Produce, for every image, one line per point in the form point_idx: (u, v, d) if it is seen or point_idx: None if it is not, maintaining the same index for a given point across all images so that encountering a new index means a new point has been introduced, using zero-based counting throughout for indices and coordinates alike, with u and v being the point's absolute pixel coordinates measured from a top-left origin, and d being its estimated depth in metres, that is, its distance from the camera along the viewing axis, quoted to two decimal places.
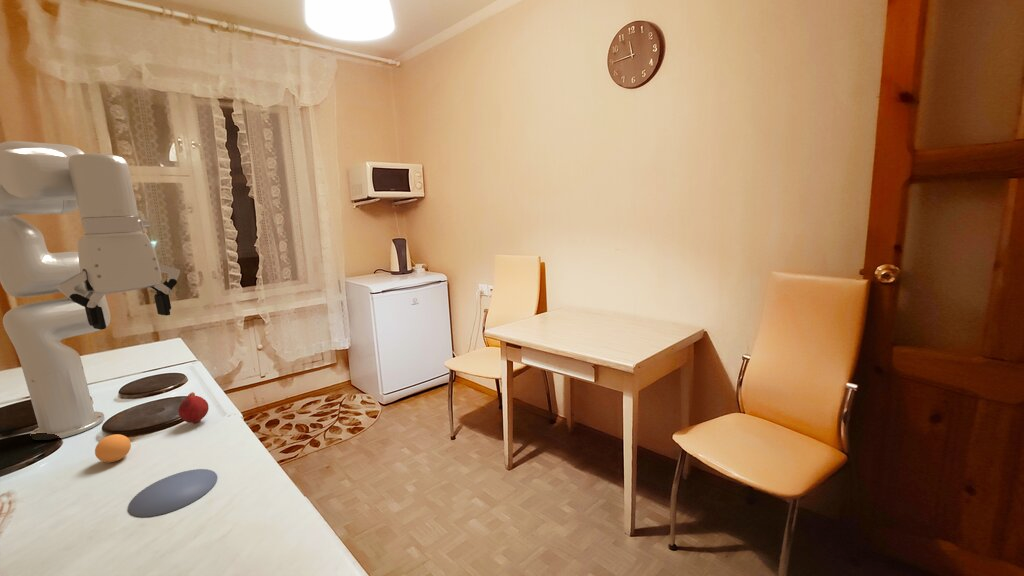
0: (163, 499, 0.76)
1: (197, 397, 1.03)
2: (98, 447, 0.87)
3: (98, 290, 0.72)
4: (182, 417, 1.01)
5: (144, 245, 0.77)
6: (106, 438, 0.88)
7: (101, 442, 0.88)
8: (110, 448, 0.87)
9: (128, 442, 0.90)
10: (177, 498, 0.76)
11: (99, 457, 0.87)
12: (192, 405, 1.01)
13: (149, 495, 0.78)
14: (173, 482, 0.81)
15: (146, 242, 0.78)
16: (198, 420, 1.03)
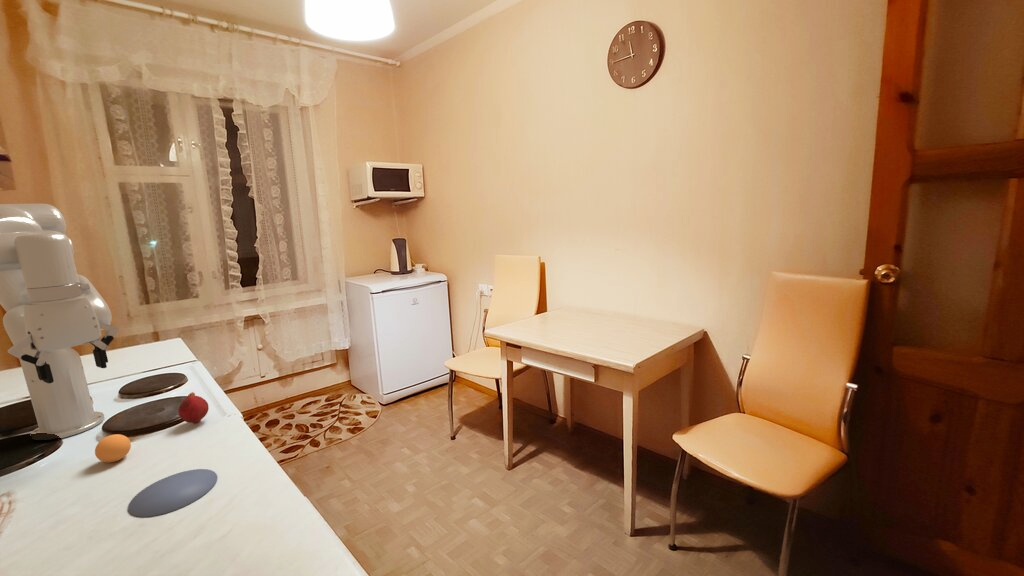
0: (163, 499, 0.76)
1: (197, 397, 1.03)
2: (98, 447, 0.87)
3: (41, 349, 0.84)
4: (182, 417, 1.01)
5: (84, 307, 0.90)
6: (106, 438, 0.88)
7: (101, 442, 0.88)
8: (110, 448, 0.87)
9: (128, 442, 0.90)
10: (177, 498, 0.76)
11: (99, 457, 0.87)
12: (192, 405, 1.01)
13: (149, 495, 0.78)
14: (173, 482, 0.81)
15: (86, 304, 0.90)
16: (198, 420, 1.03)
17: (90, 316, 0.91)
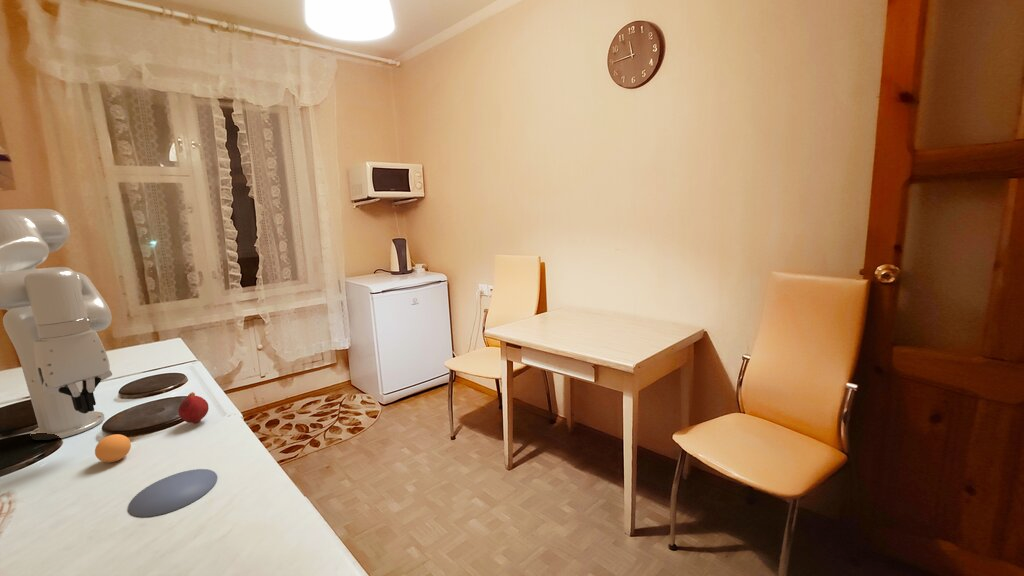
0: (163, 499, 0.76)
1: (197, 397, 1.03)
2: (98, 447, 0.87)
3: (51, 385, 0.86)
4: (182, 417, 1.01)
5: (93, 341, 0.91)
6: (106, 438, 0.88)
7: (101, 442, 0.88)
8: (110, 448, 0.87)
9: (128, 442, 0.90)
10: (177, 498, 0.76)
11: (99, 457, 0.87)
12: (192, 405, 1.01)
13: (149, 495, 0.78)
14: (173, 482, 0.81)
15: (94, 338, 0.91)
16: (198, 420, 1.03)
17: (99, 350, 0.92)
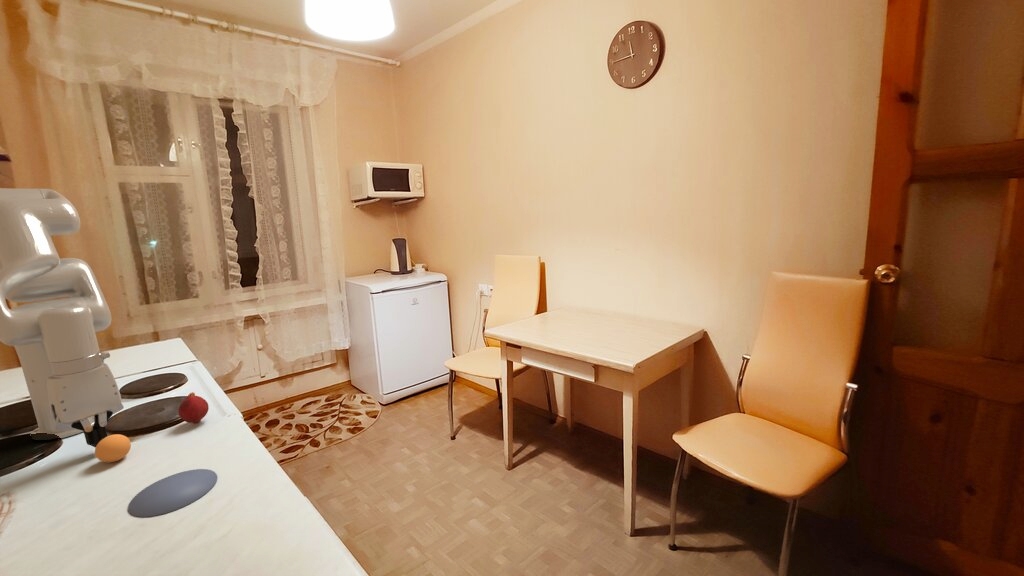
0: (163, 499, 0.76)
1: (197, 397, 1.03)
2: (98, 447, 0.87)
3: (64, 421, 0.86)
4: (182, 417, 1.01)
5: (105, 376, 0.91)
6: (106, 438, 0.88)
7: (101, 442, 0.88)
8: (110, 448, 0.87)
9: (128, 442, 0.90)
10: (177, 498, 0.76)
11: (99, 457, 0.87)
12: (192, 405, 1.01)
13: (149, 495, 0.78)
14: (173, 482, 0.81)
15: (106, 373, 0.92)
16: (198, 420, 1.03)
17: (110, 384, 0.92)
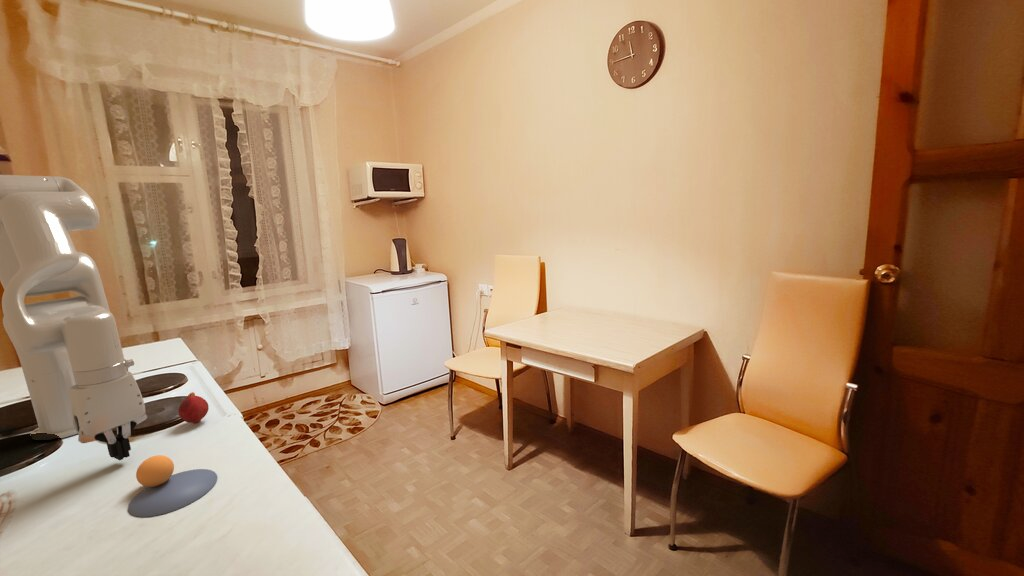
0: (163, 499, 0.76)
1: (197, 397, 1.03)
2: (141, 471, 0.78)
3: (88, 434, 0.82)
4: (182, 417, 1.01)
5: (129, 385, 0.87)
6: (149, 461, 0.79)
7: (144, 465, 0.79)
8: (153, 473, 0.79)
9: (172, 465, 0.82)
10: (177, 498, 0.76)
11: (141, 482, 0.78)
12: (192, 405, 1.01)
13: (149, 495, 0.78)
14: (173, 482, 0.81)
15: (131, 382, 0.87)
16: (198, 420, 1.03)
17: (135, 394, 0.88)
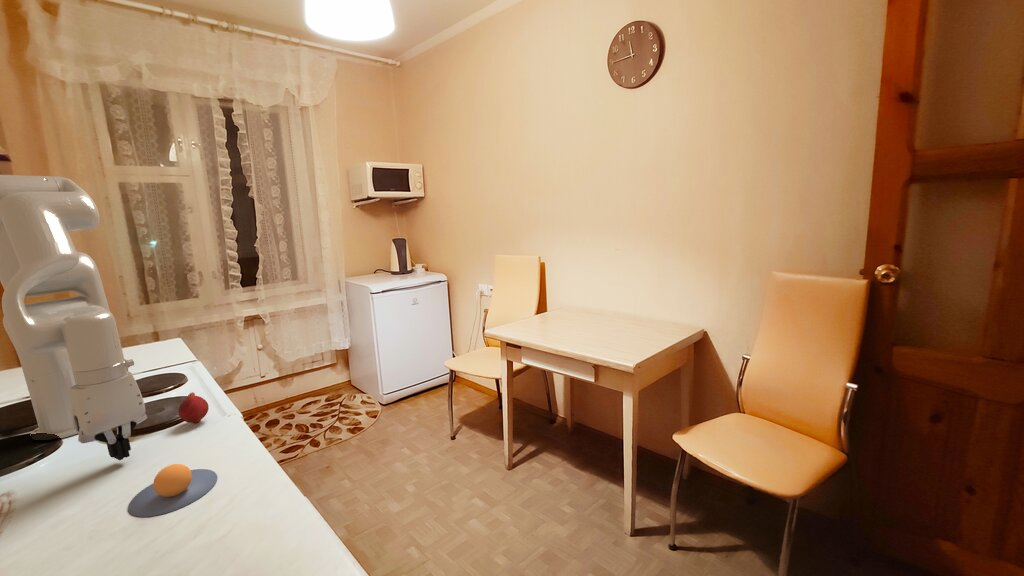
0: (163, 499, 0.76)
1: (197, 397, 1.03)
2: (161, 495, 0.76)
3: (88, 434, 0.82)
4: (182, 417, 1.01)
5: (129, 385, 0.87)
6: (174, 495, 0.77)
7: (168, 496, 0.76)
8: None
9: None
10: (177, 498, 0.76)
11: None
12: (192, 405, 1.01)
13: (149, 495, 0.78)
14: None
15: (131, 382, 0.87)
16: (198, 420, 1.03)
17: (135, 394, 0.88)
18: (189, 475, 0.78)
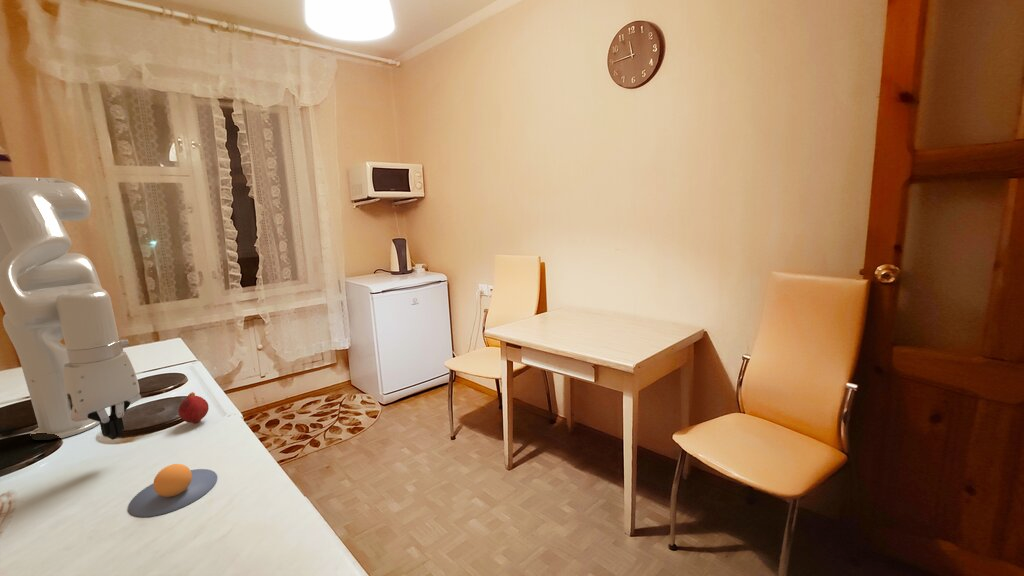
0: (163, 499, 0.76)
1: (197, 397, 1.03)
2: (161, 495, 0.76)
3: (81, 412, 0.82)
4: (182, 417, 1.01)
5: (123, 365, 0.86)
6: (174, 495, 0.77)
7: (168, 496, 0.76)
8: None
9: None
10: (177, 498, 0.76)
11: None
12: (192, 405, 1.01)
13: (149, 495, 0.78)
14: None
15: (125, 362, 0.87)
16: (198, 420, 1.03)
17: (129, 373, 0.87)
18: (189, 475, 0.78)
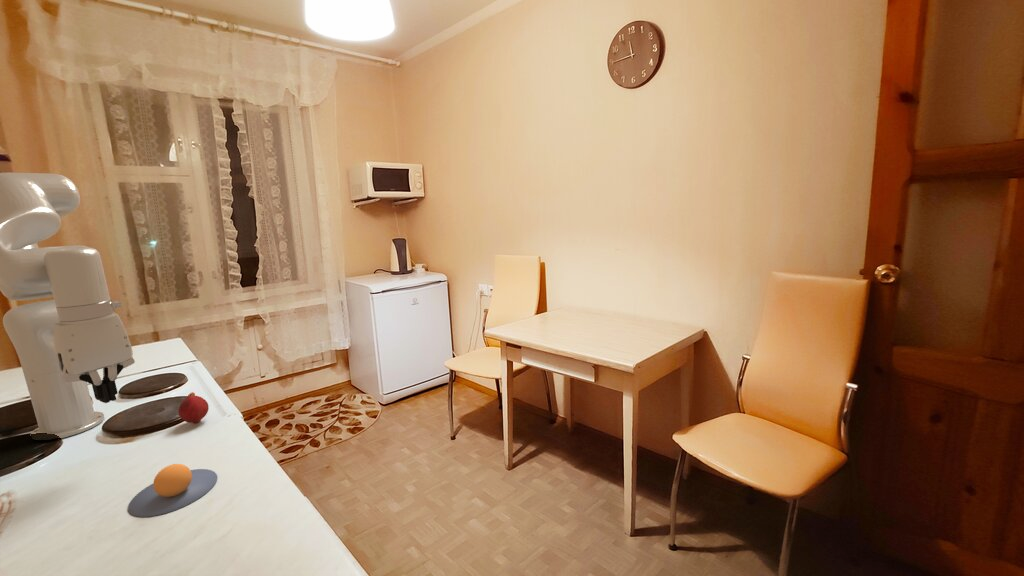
0: (163, 499, 0.76)
1: (197, 397, 1.03)
2: (161, 495, 0.76)
3: (72, 372, 0.79)
4: (182, 417, 1.01)
5: (115, 326, 0.85)
6: (174, 495, 0.77)
7: (168, 496, 0.76)
8: None
9: None
10: (177, 498, 0.76)
11: None
12: (192, 405, 1.01)
13: (149, 495, 0.78)
14: None
15: (117, 323, 0.85)
16: (198, 420, 1.03)
17: (121, 335, 0.86)
18: (189, 475, 0.78)
